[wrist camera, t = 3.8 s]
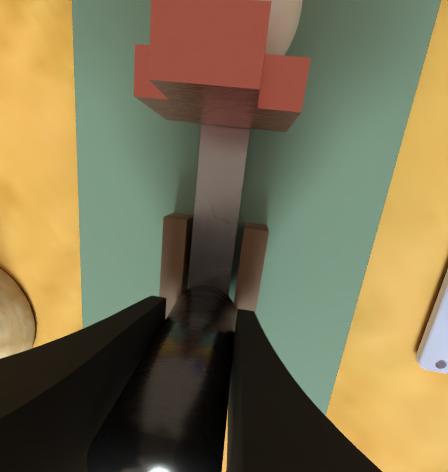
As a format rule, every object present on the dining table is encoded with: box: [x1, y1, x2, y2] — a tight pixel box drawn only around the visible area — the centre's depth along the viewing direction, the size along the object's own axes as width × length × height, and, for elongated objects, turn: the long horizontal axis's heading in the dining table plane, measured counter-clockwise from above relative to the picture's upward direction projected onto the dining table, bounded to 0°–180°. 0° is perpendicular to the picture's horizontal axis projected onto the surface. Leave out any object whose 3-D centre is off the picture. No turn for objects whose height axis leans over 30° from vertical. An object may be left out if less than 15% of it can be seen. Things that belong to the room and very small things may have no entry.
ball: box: [259, 0, 303, 56], centre depth 7 cm, size 4×4×4 cm
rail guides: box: [159, 213, 269, 319], centre depth 11 cm, size 4×5×1 cm
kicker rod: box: [87, 0, 311, 472], centre depth 7 cm, size 4×11×7 cm, turn 174°
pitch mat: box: [72, 0, 441, 415], centre depth 11 cm, size 14×23×1 cm, turn 174°
